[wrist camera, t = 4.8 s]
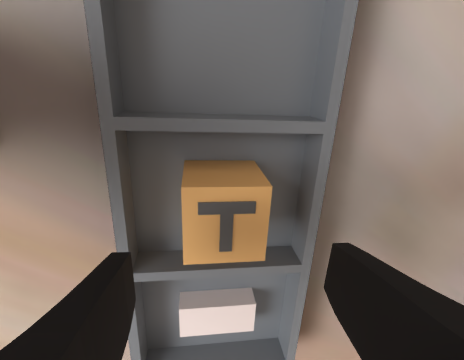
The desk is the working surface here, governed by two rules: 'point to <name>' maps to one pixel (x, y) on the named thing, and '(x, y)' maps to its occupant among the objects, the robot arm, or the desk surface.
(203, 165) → the letter cube
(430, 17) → the desk surface
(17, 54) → the desk surface
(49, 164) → the desk surface
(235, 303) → the eraser
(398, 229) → the desk surface
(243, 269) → the organizer
